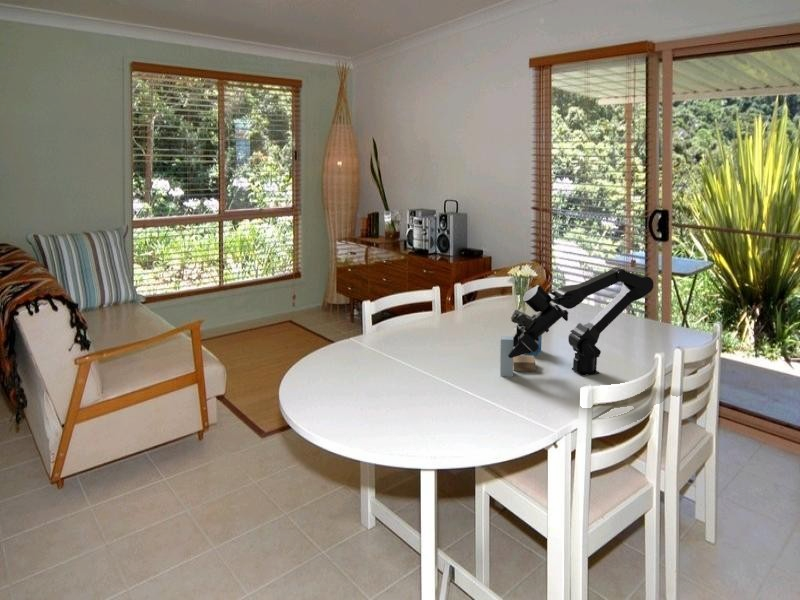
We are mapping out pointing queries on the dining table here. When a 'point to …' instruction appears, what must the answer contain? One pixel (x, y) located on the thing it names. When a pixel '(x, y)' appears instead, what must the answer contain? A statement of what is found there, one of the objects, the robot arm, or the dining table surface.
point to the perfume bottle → (538, 349)
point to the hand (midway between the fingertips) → (508, 352)
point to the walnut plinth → (524, 363)
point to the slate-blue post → (506, 356)
